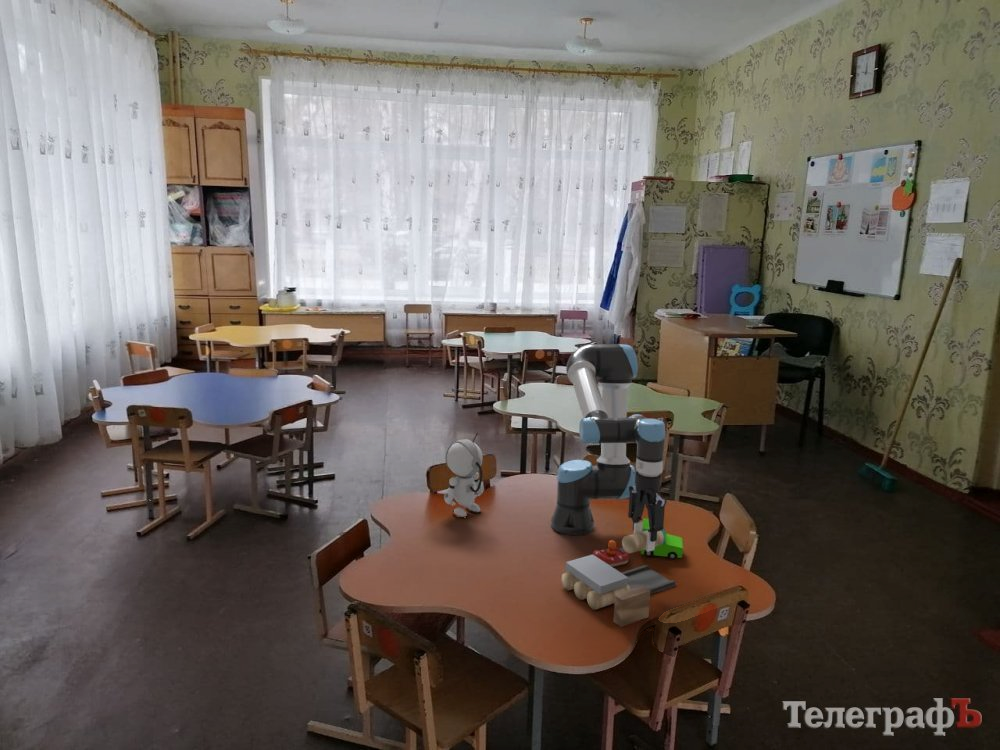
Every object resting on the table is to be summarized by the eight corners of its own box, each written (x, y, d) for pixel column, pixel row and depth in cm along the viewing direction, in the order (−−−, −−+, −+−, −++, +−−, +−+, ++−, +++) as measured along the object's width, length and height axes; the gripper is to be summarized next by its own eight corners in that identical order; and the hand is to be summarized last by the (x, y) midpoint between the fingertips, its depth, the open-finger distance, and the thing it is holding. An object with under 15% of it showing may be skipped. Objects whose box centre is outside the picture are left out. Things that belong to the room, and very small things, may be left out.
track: (561, 585, 210) (562, 561, 208) (637, 561, 226) (638, 538, 224) (617, 628, 189) (619, 601, 187) (697, 598, 204) (699, 573, 203)
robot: (482, 506, 267) (484, 430, 262) (481, 519, 254) (482, 440, 249) (447, 505, 267) (447, 429, 262) (443, 518, 254) (443, 439, 249)
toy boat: (588, 560, 226) (589, 539, 224) (618, 554, 231) (620, 532, 229) (601, 571, 219) (602, 549, 218) (632, 564, 224) (633, 542, 223)
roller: (632, 556, 205) (634, 540, 204) (621, 549, 209) (622, 533, 208) (663, 547, 211) (664, 532, 210) (651, 540, 215) (652, 525, 214)
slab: (565, 569, 209) (566, 562, 209) (592, 561, 214) (592, 554, 214) (600, 594, 196) (600, 586, 195) (627, 585, 201) (628, 577, 201)
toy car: (682, 563, 226) (685, 534, 223) (640, 558, 228) (642, 530, 226) (681, 549, 235) (683, 521, 233) (640, 544, 238) (642, 517, 236)
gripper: (618, 465, 211) (614, 537, 216) (661, 484, 196) (655, 562, 201) (637, 461, 214) (632, 532, 219) (680, 480, 199) (674, 555, 205)
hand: (643, 546), depth 210 cm, fingers closed on roller, 5 cm apart
